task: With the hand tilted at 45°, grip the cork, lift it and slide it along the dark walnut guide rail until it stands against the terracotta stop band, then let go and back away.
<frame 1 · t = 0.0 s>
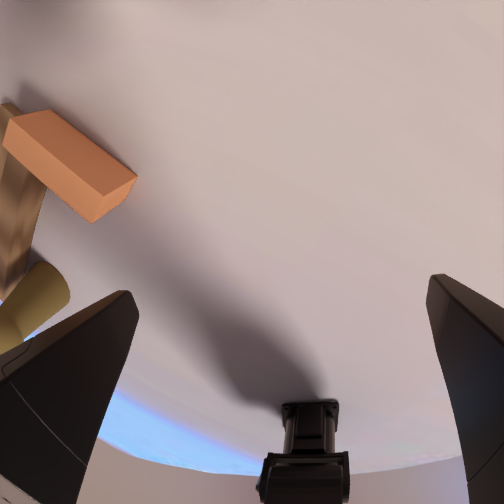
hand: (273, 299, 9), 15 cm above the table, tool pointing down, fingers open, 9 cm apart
guide rail: (60, 250, 28), on the table
cork: (51, 283, 31), on the table
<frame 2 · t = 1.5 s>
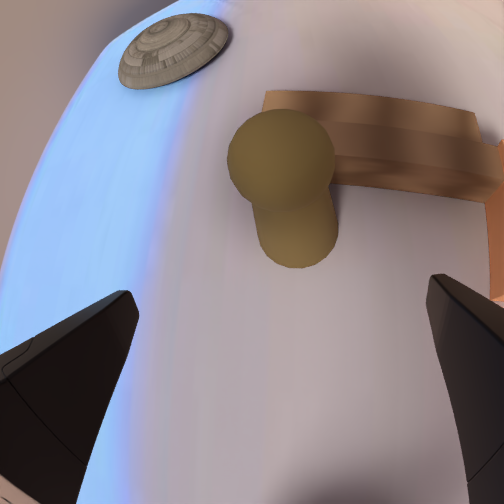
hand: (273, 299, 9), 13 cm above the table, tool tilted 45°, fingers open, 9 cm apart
flying saucer: (175, 57, 35), on the table
guide rail: (376, 235, 22), on the table
cork: (297, 229, 24), on the table
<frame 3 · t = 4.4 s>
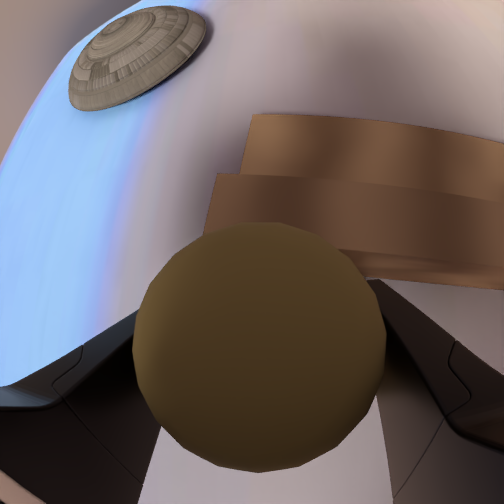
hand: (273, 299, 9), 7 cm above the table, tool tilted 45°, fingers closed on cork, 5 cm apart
flying saucer: (139, 64, 26), on the table
guide rail: (410, 361, 14), on the table
cork: (295, 349, 15), on the table, touching gripper
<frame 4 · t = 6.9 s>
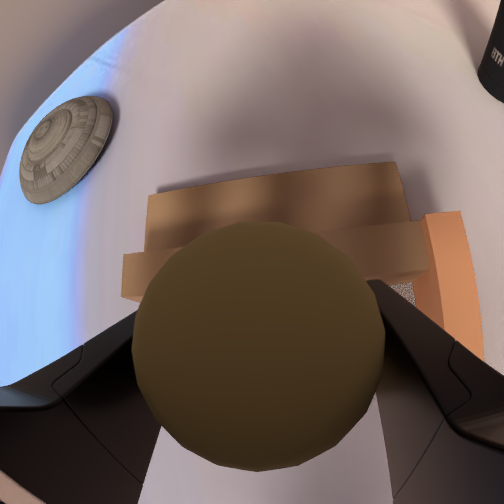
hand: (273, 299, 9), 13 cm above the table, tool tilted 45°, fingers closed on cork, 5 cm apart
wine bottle: (500, 86, 23), on the table
flying saucer: (69, 152, 33), on the table
guide rail: (280, 354, 21), on the table
cork: (294, 349, 15), point 6 cm above the table, touching gripper
when the fingers open (8 cm above the table, at t = 9.6 s): cork drops 1 cm, on the table.
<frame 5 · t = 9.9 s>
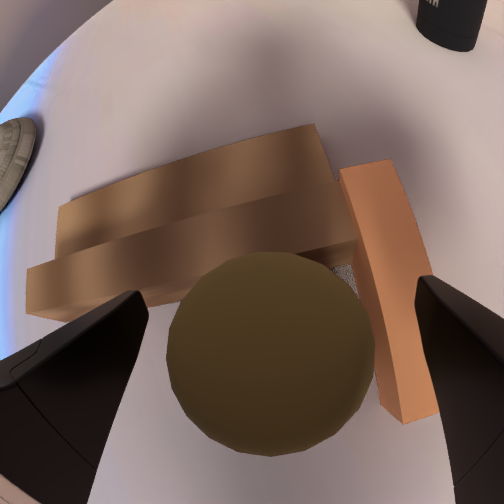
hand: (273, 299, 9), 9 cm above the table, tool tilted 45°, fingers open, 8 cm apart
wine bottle: (445, 34, 21), on the table
flying saucer: (3, 177, 29), on the table
guide rail: (194, 367, 17), on the table
cork: (297, 352, 17), on the table
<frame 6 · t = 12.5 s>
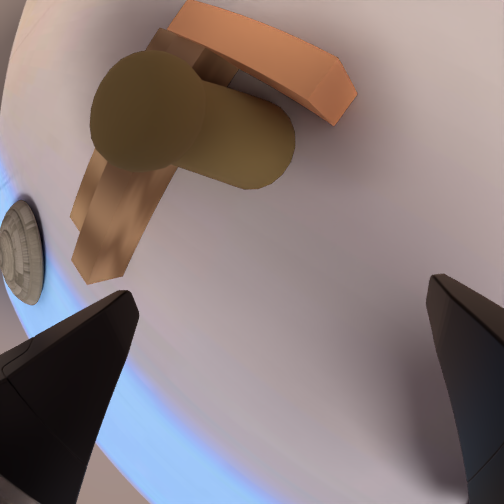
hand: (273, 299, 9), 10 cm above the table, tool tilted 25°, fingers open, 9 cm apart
flying saucer: (31, 251, 38), on the table
guide rail: (203, 213, 22), on the table
cork: (252, 143, 20), on the table
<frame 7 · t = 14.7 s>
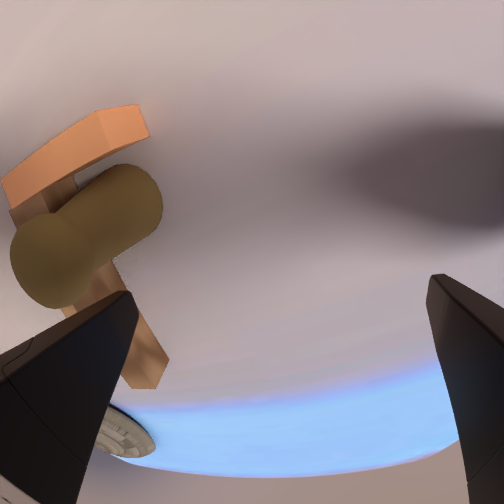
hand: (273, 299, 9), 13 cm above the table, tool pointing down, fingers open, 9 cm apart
flying saucer: (114, 421, 41), on the table
guide rail: (156, 268, 25), on the table
cork: (128, 201, 23), on the table
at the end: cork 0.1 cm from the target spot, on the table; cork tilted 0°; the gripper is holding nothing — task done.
